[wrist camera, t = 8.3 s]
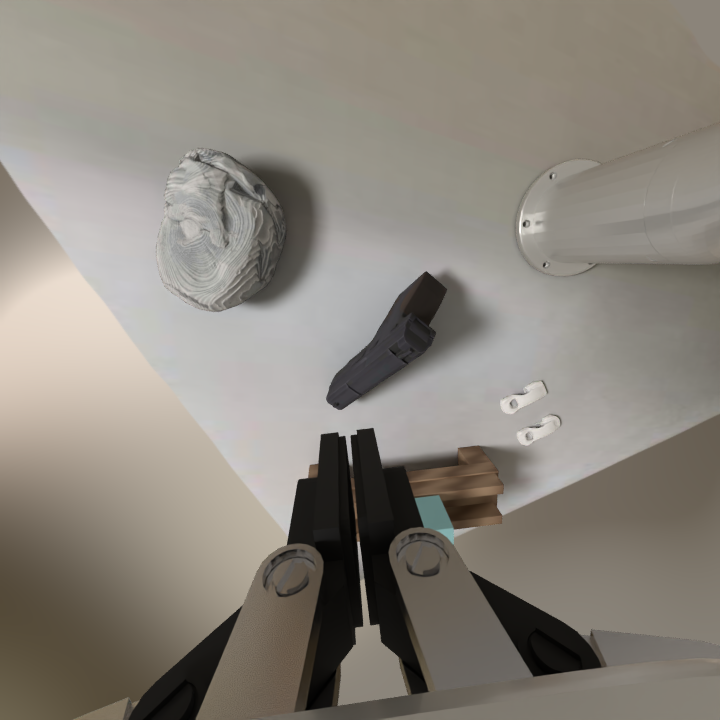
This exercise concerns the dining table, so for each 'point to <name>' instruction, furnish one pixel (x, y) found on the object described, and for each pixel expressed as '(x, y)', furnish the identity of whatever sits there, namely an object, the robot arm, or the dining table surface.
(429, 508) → the teal rectangular block
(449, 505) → the beam
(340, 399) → the handgun
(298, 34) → the dining table surface
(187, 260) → the decorative stone
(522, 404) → the white curved pieces
